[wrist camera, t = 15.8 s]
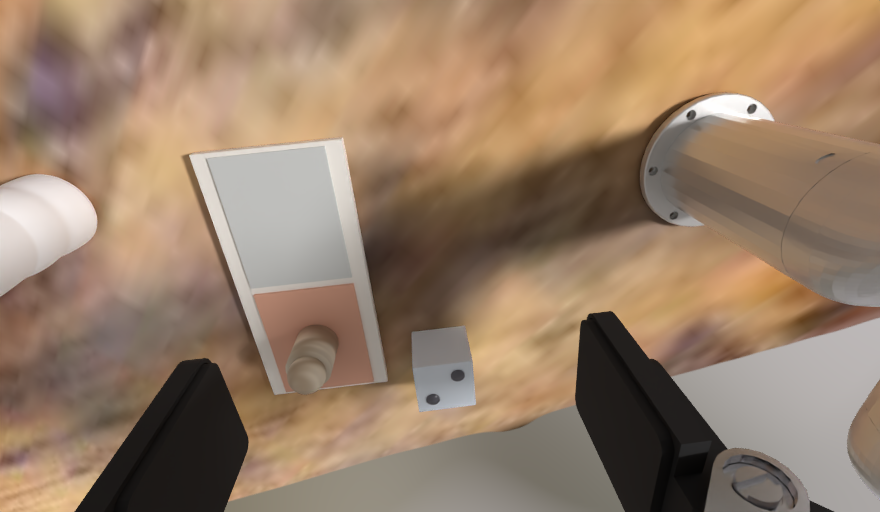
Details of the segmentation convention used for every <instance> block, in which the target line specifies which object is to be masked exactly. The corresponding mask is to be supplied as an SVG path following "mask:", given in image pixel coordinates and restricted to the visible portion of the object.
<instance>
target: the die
mask: <svg viewBox="0 0 880 512" xmlns="http://www.w3.org/2000/svg"><path fill="white" fill-rule="evenodd" d="M412 369H413V375H414V381H415V388H416V394H417V400H418V406H419V412H423V411H431V410H439V409H447V408H455V407H463V406H471V405H476V400H475V387H474V375H473V362H472V357H471V352H470V347H469V342H468V338H467V333H466V328H465V326H457V327H449V328H441V329H432V330H424V331H416V332H412Z"/></svg>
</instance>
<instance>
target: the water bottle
mask: <svg viewBox="0 0 880 512" xmlns="http://www.w3.org/2000/svg"><path fill="white" fill-rule="evenodd" d="M96 229H97V215H96V212H95V209H94V207H93V205H92V203H91V202H90V200H89V199H88V198H87V197H86V195H85V194H84V193H83V192H82V191H80V190H79V189H78V188H77V187H75V186H74V185H72V184H71V183H69V182H67V181H65V180H63V179H61V178H58V177H55V176H51V175H45V174H32V175H26V176H23V177H20V178H17V179H14V180H11V181H9V182H7V183H4V184H2V185H0V297H1V296H2V295H4V294H5V293H7V292H8V291H9V290H11V289H12V288H13V287H15V286H16V285H17V284H19V283H20V282H21V281H23V280H24V279H25V278H27V277H30V276H32V275H35V274H37V273H39V272H41V271H42V270H44V269H46V268H47V267H49V266H50V265H52V264H53V263H54V262H56V261H57V260H58V259H59V258H60V257H62V256H64V255H67V254H69V253H71V252H73V251H74V250H76V249H78V248H80V247H81V246H83V245H84V244H86V243H87V242H88V241H89V240H90V239H91V238H92V237H93V236H94V234H95V232H96Z"/></svg>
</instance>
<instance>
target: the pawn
mask: <svg viewBox="0 0 880 512" xmlns="http://www.w3.org/2000/svg"><path fill="white" fill-rule="evenodd" d="M338 345H339V340H338V337H337V335H336V334H335V332H334V331H333V330H331V329H330V328H328V327H326V326H323V325H310V326H307V327H305V328H303V329H302V330H301V331H300V332H299V334H298V336H297V338H296V341H295V343H294V346H293V348H292V350H291V353H290V355H289V358H288V360H287V363H286V366H285V370H286V374H287V380H288V384H289V386H290V387H291V389H292V390H294V391H295V392H297V393H299V394H303V395H307V394H312V393H314V392H316V391H318V390H319V389H320V388H321V387H322V386H323V384H324V383H326V382H327V381H328V380H329V378H330V376H331V373H332V369H333V365H334V361H335V357H336V353H337V349H338Z"/></svg>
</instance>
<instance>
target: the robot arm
mask: <svg viewBox="0 0 880 512" xmlns="http://www.w3.org/2000/svg"><path fill="white" fill-rule="evenodd" d="M687 113H688V114H687ZM649 169H650V170H649ZM640 187H641V191H642V195H643V197H644V199H645V201H646V203H647V205H648V206H649V207H650V208H651V210H652V211H653V212H654V213H655V214H657V215H658V216H659V217H661V218H662V219H664V220H666V221H667V222H669V223H672V224H675V225H679V226H687V227H695V226H704V225H706V226H707V227H709V228H710V229H712V230H714V231H715V232H717V233H718V234H720V235H722V236H723V237H725V238H727V239H728V240H730V241H731V242H733V243H735V244H736V245H738V246H740V247H741V248H743V249H744V250H746V251H748V252H749V253H751V254H753V255H754V256H756V257H757V258H759V259H761V260H762V261H764V262H766V263H767V264H769V265H770V266H772V267H774V268H775V269H777V270H778V271H780V272H782V273H783V274H785V275H787V276H788V277H790V278H792V279H793V280H795V281H797V282H798V283H800V284H802V285H803V286H805V287H807V288H808V289H810V290H812V291H813V292H815V293H817V294H819V295H821V296H823V297H826V298H829V299H831V300H834V301H837V302H841V303H846V304H850V305H856V306H872V307H880V144H876V143H871V142H867V141H862V140H858V139H853V138H848V137H844V136H839V135H835V134H830V133H825V132H821V131H816V130H812V129H807V128H802V127H798V126H793V125H789V124H784V123H780V122H775V120H774V118H773V116H772V115H771V113H770V111H769V110H768V109H767V108H766V107H765V106H764V105H763V104H762V103H761V102H760V101H758V100H756V99H754V98H752V97H750V96H746V95H742V94H738V93H728V92H722V93H713V94H709V95H706V96H702V97H699V98H697V99H695V100H693V101H691V102H689V103H687V104H685V105H684V106H682V107H681V108H679V109H678V110H676V111H675V112H674V113H673V114H671V115H670V116H669V117H668V118H667V119H666V120H665V121H664V122H663V123H662V124H661V126H660V127H659V128H658V130H657V131H656V132H655V134H654V135H653V137H652V138H651V140H650V142H649V144H648V146H647V147H646V150H645V153H644V156H643V159H642V163H641V168H640ZM575 400H576V406H577V409H578V411H579V414H580V416H581V418H582V420H583V422H584V424H585V427H586V429H587V431H588V433H589V435H590V437H591V439H592V442H593V444H594V446H595V448H596V450H597V452H598V455H599V457H600V459H601V461H602V463H603V465H604V468H605V469H606V472H607V474H608V476H609V478H610V480H611V483H612V484H613V487H614V489H615V491H616V493H617V495H618V498H619V500H620V502H621V504H622V506H623V508H624V510H625V512H834V511H831V510H829V509H827V508H825V507H822V506H820V505H818V504H816V503H814V502H812V501H810V500H809V497H808V493H807V490H806V489H805V487H804V485H803V484H802V482H801V481H800V479H799V478H798V477H797V476H796V475H795V474H794V473H793V472H792V471H791V470H790V469H789V468H788V467H786V466H785V465H783V464H782V463H780V462H779V461H777V460H776V459H774V458H772V457H770V456H768V455H766V454H763V453H761V452H758V451H754V450H750V449H744V448H732V449H727V448H726V447H725V445H724V444H723V443H722V441H721V440H720V439H719V438H718V436H717V435H716V434H715V433H714V431H713V430H712V429H711V428H710V426H709V425H708V424H707V422H706V421H705V420H704V419H703V417H702V416H701V415H700V414H699V412H698V411H697V410H696V409H695V407H694V406H693V405H692V403H691V402H690V401H689V400H688V398H687V397H686V396H685V395H684V393H683V392H682V391H681V390H680V388H679V387H678V386H677V384H676V383H675V382H674V381H673V379H672V378H671V377H670V376H669V374H668V373H667V372H666V370H665V369H664V368H663V367H662V365H661V364H660V363H659V362H658V361H656V360H654V359H649V358H648V357H647V355H646V354H645V353H644V352H643V350H642V349H641V348H640V346H639V345H638V344H637V342H636V341H635V340H634V338H633V337H632V336H631V335H630V333H629V332H628V331H627V329H626V328H625V327H624V325H623V324H622V323H621V321H620V320H619V319H618V318H617V316H616V315H615V314H614V313H613V312H611V311H609V312H601V313H592V314H589V315H588V317H587V320H583V321H582V322H581V327H580V340H579V353H578V367H577V380H576V393H575ZM847 449H848V454H849V457H850V460H851V463H852V466H853V467H854V469H855V471H856V472H857V474H858V475H859V477H860V479H861V480H862V481H863V482H864V484H865V485H866V486H867V487H868V488H869V489H870V490H871V492H872V493H873V494H874V495H875V496H876V497H877V498H878V499H879V500H880V380H879V381H878V383H877V384H876V386H875V387H874V388H873V390H872V391H871V393H870V394H869V396H868V398H867V399H866V401H865V402H864V403H863V405H862V406H861V408H860V409H859V411H858V413H857V414H856V416H855V418H854V420H853V421H852V424H851V426H850V429H849V432H848V438H847ZM247 450H248V436H247V433H246V431H245V429H244V426H243V424H242V421H241V419H240V417H239V414H238V412H237V409H236V407H235V405H234V402H233V400H232V398H231V395H230V393H229V390H228V388H227V386H226V383H225V381H224V378H223V376H222V374H221V371H220V369H219V367H218V365H217V364H216V363H211V361H210V360H209V359H206V358H203V359H195V360H186V361H182V362H180V363H179V364H178V366H177V367H176V368H175V370H174V371H173V373H172V374H171V376H170V377H169V378H168V380H167V381H166V383H165V384H164V385H163V387H162V388H161V390H160V391H159V393H158V394H157V395H156V397H155V398H154V400H153V401H152V403H151V404H150V405H149V407H148V408H147V410H146V411H145V412H144V414H143V415H142V417H141V418H140V420H139V421H138V422H137V424H136V425H135V427H134V428H133V430H132V431H131V432H130V434H129V435H128V437H127V438H126V439H125V441H124V442H123V444H122V445H121V447H120V448H119V449H118V451H117V452H116V454H115V455H114V457H113V458H112V459H111V461H110V462H109V464H108V465H107V466H106V468H105V469H104V471H103V472H102V474H101V475H100V476H99V478H98V479H97V481H96V482H95V484H94V485H93V486H92V488H91V489H90V491H89V492H88V493H87V495H86V496H85V498H84V499H83V501H82V502H81V503H80V505H79V506H78V508H77V509H76V511H75V512H224V510H225V507H226V505H227V502H228V500H229V497H230V494H231V492H232V489H233V487H234V484H235V482H236V479H237V476H238V474H239V471H240V469H241V466H242V463H243V461H244V458H245V456H246V453H247Z"/></svg>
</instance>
